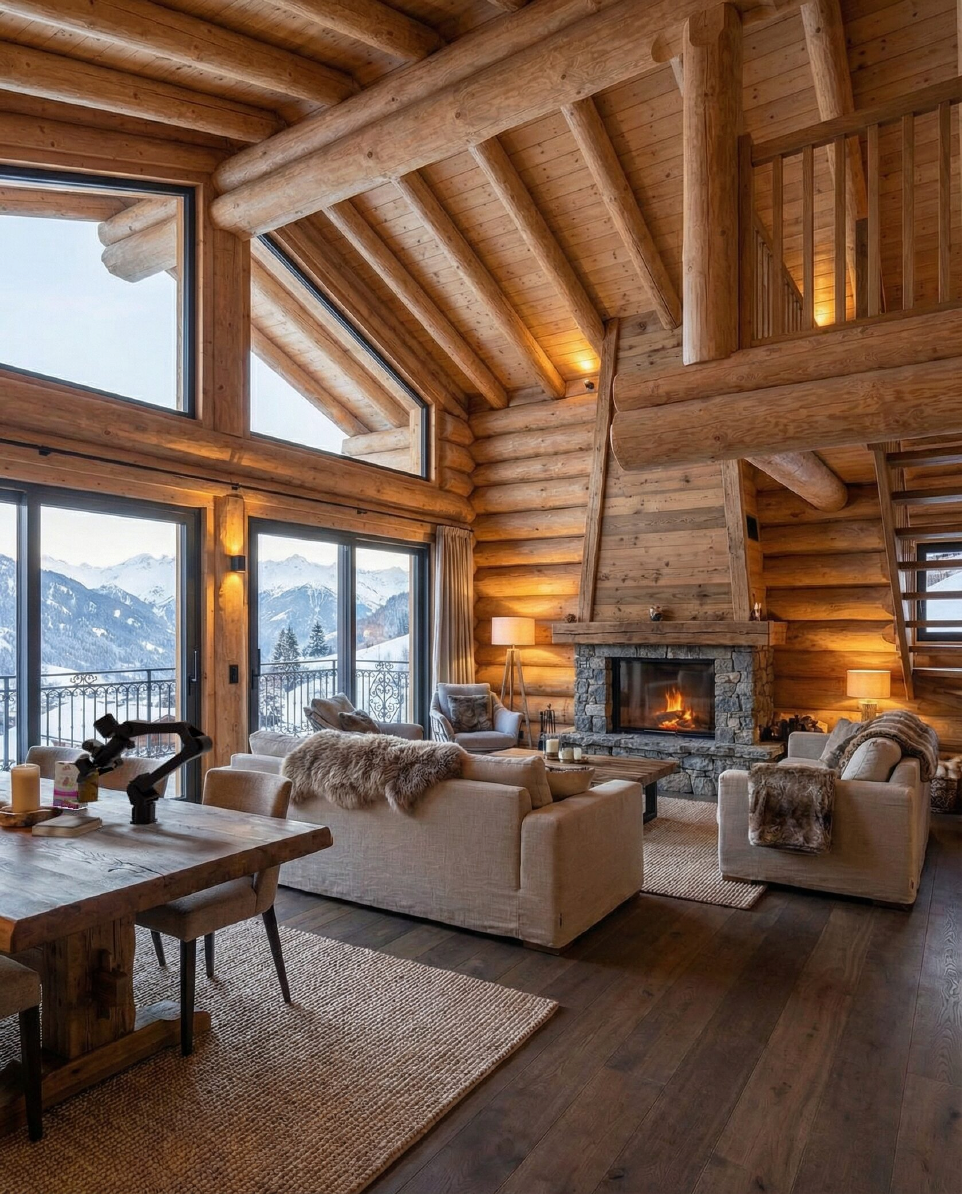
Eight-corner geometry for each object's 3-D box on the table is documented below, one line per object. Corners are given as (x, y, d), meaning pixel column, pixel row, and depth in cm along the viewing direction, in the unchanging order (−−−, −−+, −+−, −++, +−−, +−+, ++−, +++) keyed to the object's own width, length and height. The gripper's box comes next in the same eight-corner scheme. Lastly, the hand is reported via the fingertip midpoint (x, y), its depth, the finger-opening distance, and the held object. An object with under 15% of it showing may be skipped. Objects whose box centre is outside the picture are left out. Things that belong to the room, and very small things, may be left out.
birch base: (102, 826, 261) (102, 817, 261) (73, 837, 247) (74, 827, 247) (62, 824, 263) (62, 814, 263) (32, 834, 249) (32, 824, 249)
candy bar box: (88, 808, 287) (90, 761, 288) (77, 811, 283) (79, 763, 283) (63, 805, 291) (64, 759, 291) (51, 808, 286) (53, 761, 287)
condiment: (103, 800, 273) (104, 764, 273) (77, 804, 266) (78, 768, 267) (93, 798, 278) (94, 762, 278) (67, 801, 271) (68, 765, 272)
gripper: (116, 728, 282) (87, 759, 284) (80, 734, 264) (49, 767, 266) (136, 751, 280) (107, 782, 282) (101, 759, 262) (69, 792, 264)
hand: (83, 780), depth 273 cm, fingers closed on condiment, 6 cm apart
